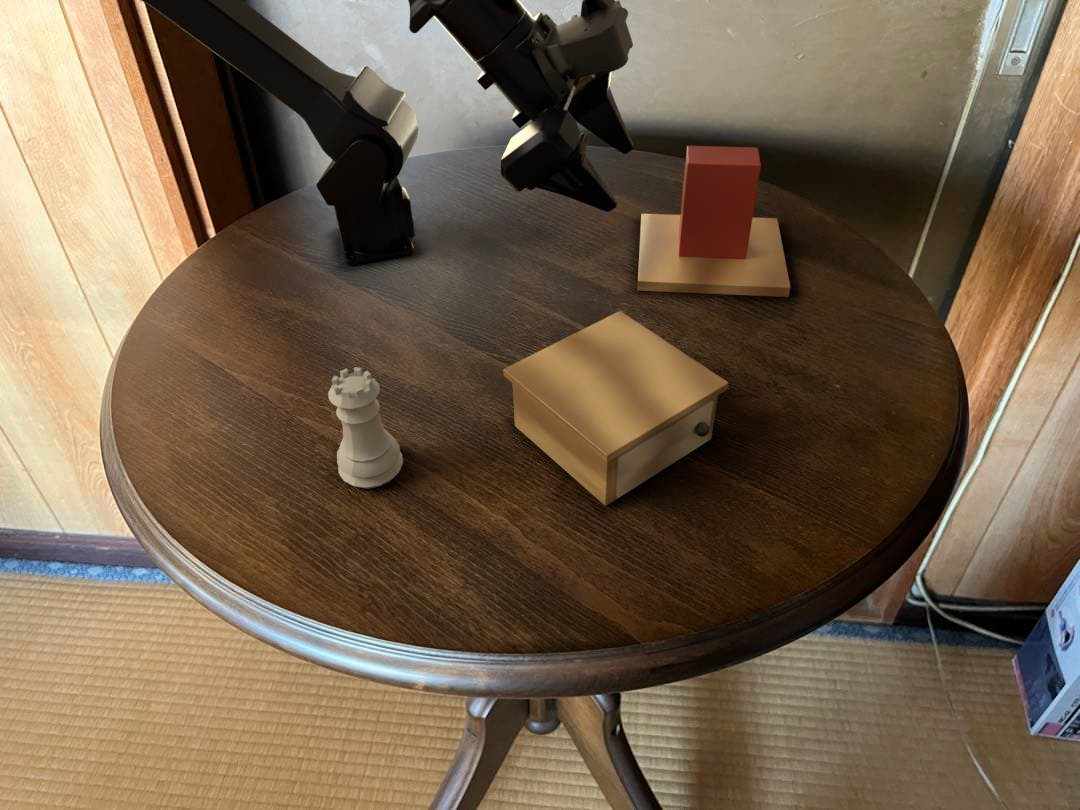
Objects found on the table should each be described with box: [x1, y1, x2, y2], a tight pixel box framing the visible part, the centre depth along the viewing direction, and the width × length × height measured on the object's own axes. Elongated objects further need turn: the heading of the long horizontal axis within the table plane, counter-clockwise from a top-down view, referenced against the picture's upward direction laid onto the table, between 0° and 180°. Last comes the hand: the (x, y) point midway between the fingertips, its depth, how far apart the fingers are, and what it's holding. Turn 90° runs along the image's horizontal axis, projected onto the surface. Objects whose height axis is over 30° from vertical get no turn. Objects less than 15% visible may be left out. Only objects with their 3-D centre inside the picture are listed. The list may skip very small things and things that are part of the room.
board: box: [636, 213, 791, 298], centre depth 77 cm, size 13×12×1 cm
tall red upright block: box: [678, 145, 762, 259], centre depth 73 cm, size 4×6×9 cm, turn 83°
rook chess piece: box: [327, 366, 404, 490], centre depth 55 cm, size 4×4×8 cm
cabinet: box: [502, 310, 730, 507], centre depth 58 cm, size 11×12×5 cm
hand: (621, 178), depth 73 cm, fingers open, 9 cm apart
